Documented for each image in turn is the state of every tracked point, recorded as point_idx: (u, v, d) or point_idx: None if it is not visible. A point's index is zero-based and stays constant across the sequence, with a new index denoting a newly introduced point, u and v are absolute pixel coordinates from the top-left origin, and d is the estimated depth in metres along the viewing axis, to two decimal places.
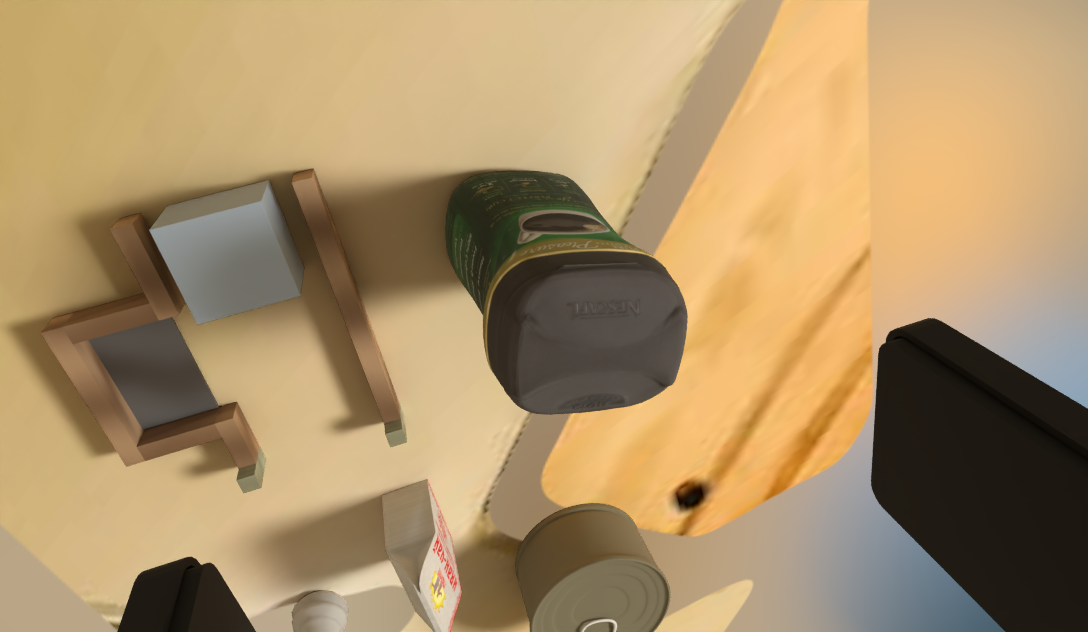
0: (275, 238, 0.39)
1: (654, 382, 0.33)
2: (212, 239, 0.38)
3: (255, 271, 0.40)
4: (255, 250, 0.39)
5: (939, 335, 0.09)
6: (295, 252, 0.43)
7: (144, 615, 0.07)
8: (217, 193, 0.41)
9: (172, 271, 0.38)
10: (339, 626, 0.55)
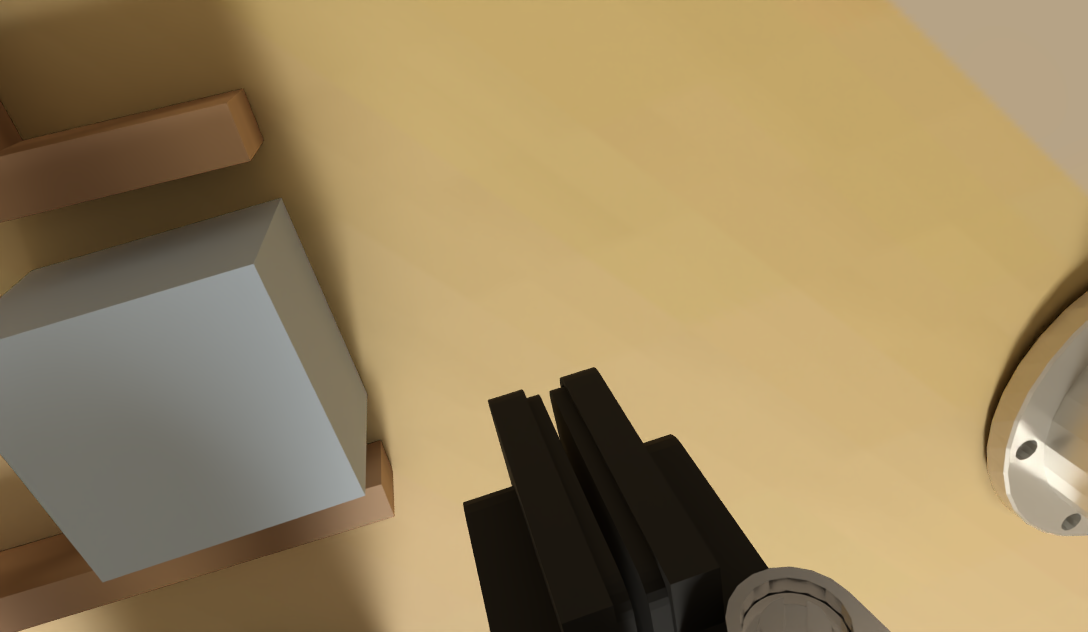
0: (269, 525, 0.16)
1: None
2: (246, 402, 0.14)
3: (159, 492, 0.15)
4: (227, 489, 0.15)
5: (586, 386, 0.09)
6: None
7: (515, 423, 0.09)
8: (327, 305, 0.18)
9: (121, 309, 0.13)
10: None
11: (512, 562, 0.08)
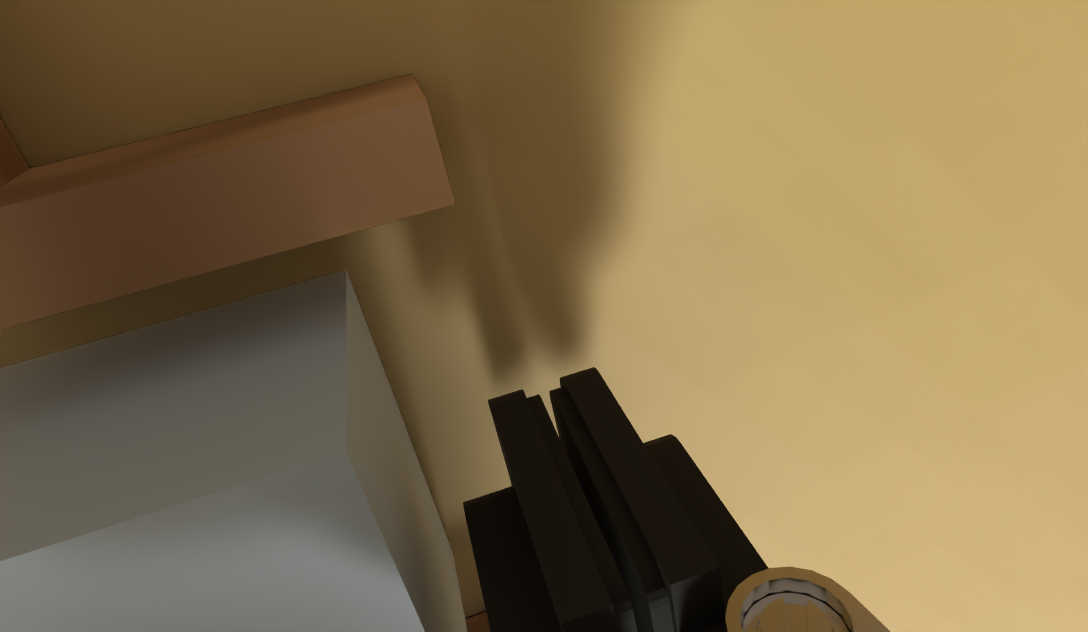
0: None
1: None
2: None
3: None
4: None
5: (586, 385, 0.09)
6: None
7: (515, 423, 0.09)
8: (407, 435, 0.11)
9: (61, 553, 0.06)
10: None
11: (512, 562, 0.08)
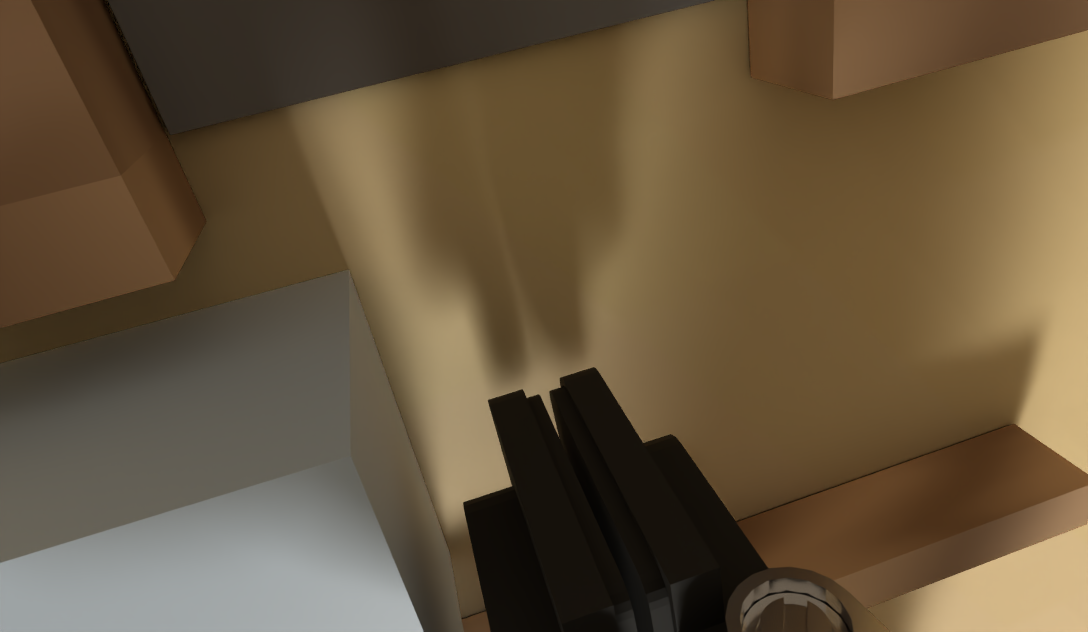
0: None
1: None
2: None
3: None
4: None
5: (586, 385, 0.09)
6: None
7: (515, 422, 0.09)
8: (407, 437, 0.11)
9: (62, 555, 0.06)
10: None
11: (512, 562, 0.08)
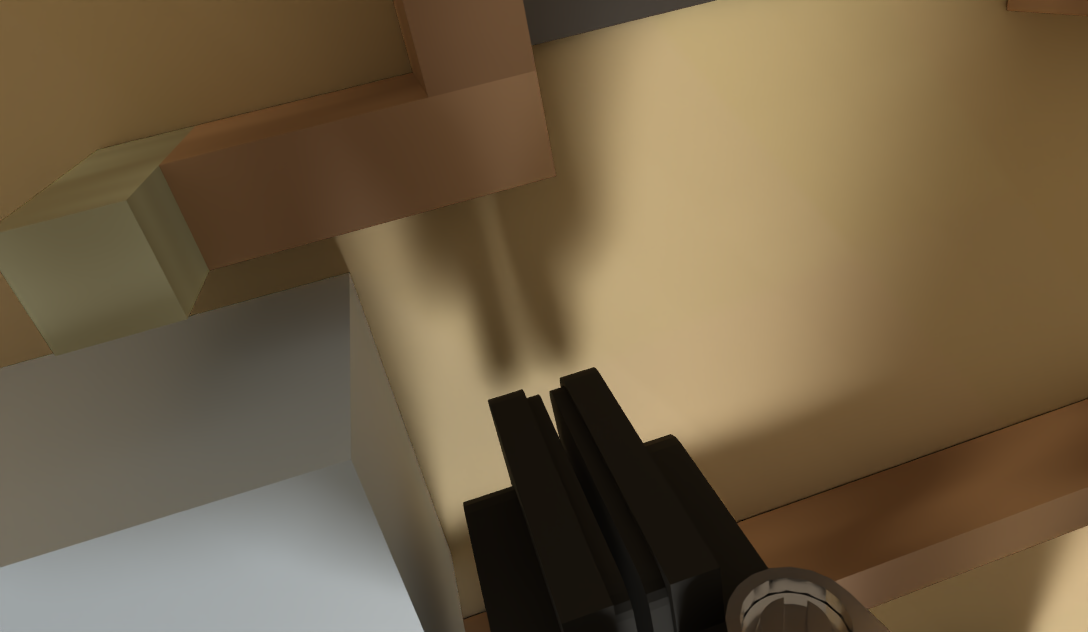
0: None
1: None
2: None
3: None
4: None
5: (587, 385, 0.09)
6: None
7: (515, 423, 0.09)
8: (408, 437, 0.11)
9: (66, 558, 0.06)
10: None
11: (512, 562, 0.08)
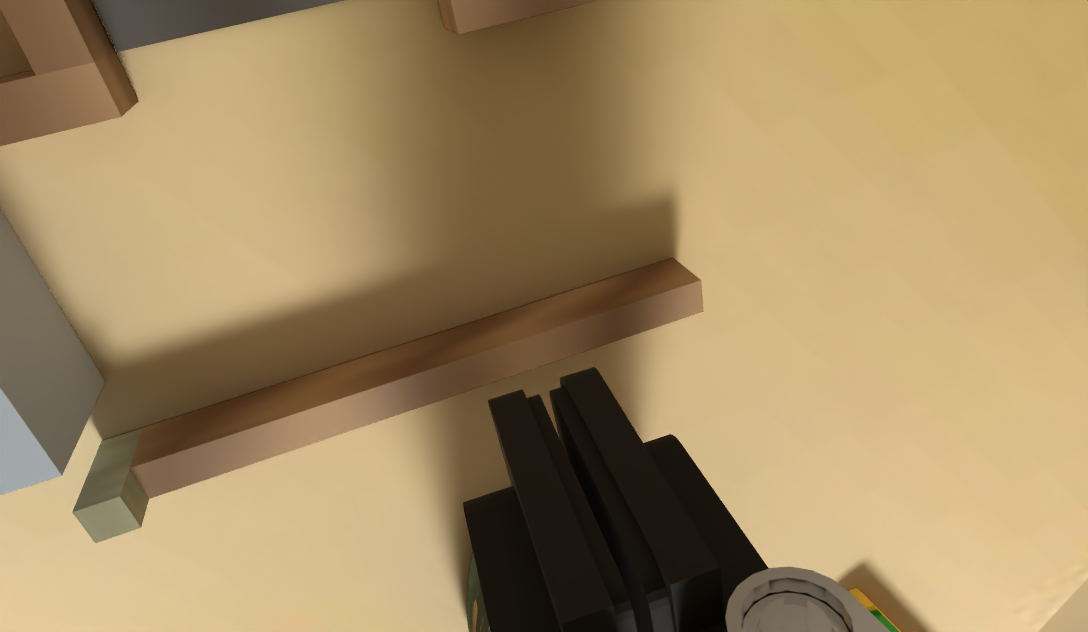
0: None
1: None
2: None
3: None
4: None
5: (586, 386, 0.09)
6: None
7: (515, 422, 0.09)
8: (49, 294, 0.19)
9: None
10: None
11: (512, 562, 0.08)
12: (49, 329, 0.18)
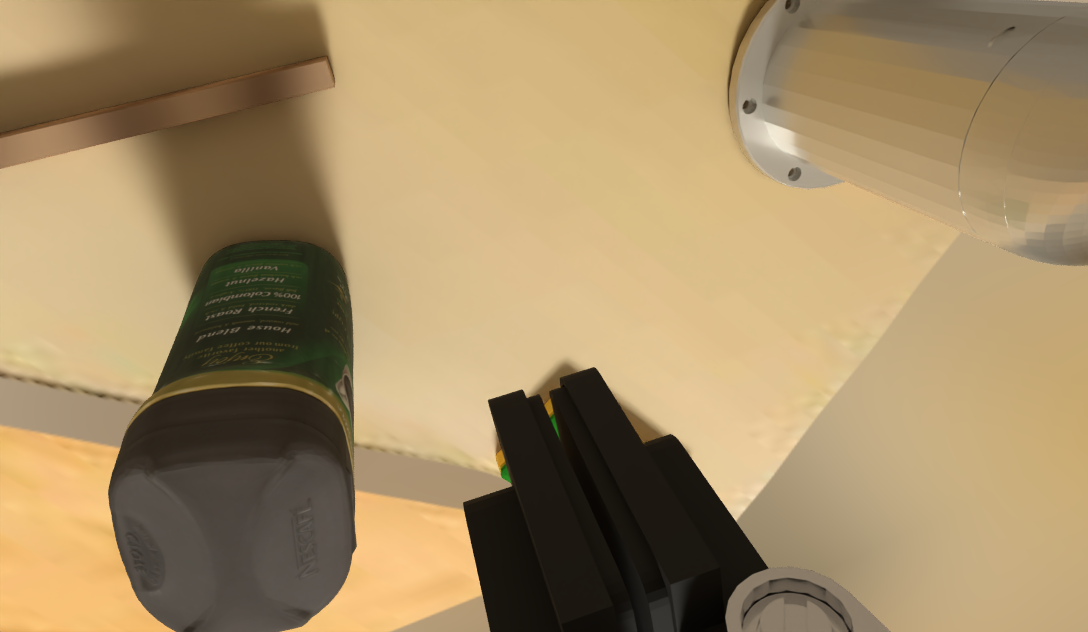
0: None
1: (193, 621, 0.24)
2: None
3: None
4: None
5: (586, 386, 0.09)
6: None
7: (515, 422, 0.09)
8: None
9: None
10: None
11: (512, 562, 0.08)
12: None
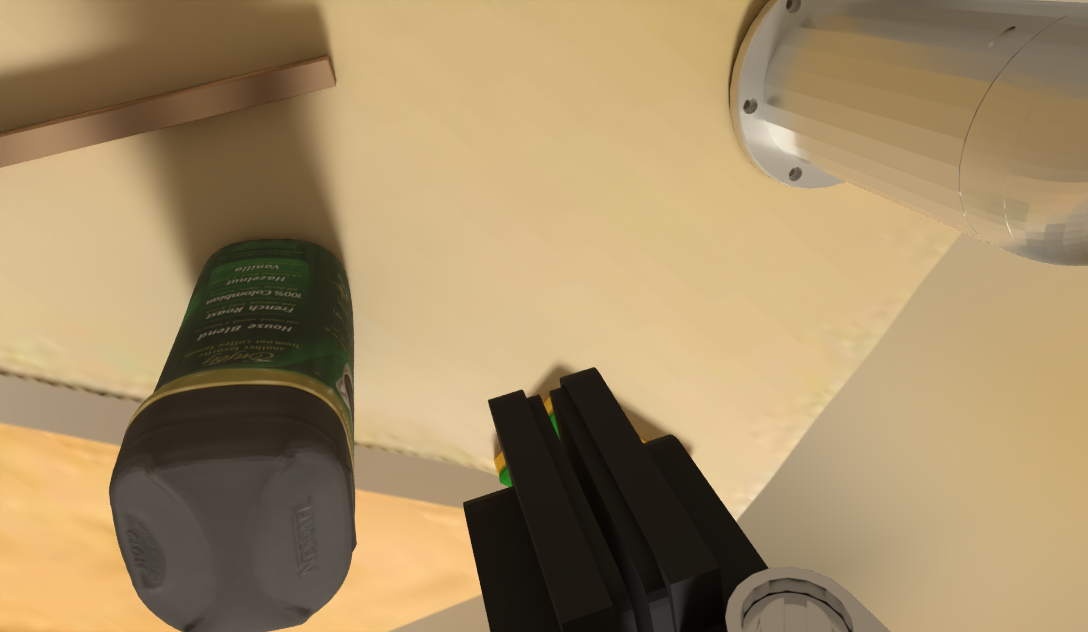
0: None
1: (193, 618, 0.24)
2: None
3: None
4: None
5: (586, 386, 0.09)
6: None
7: (515, 422, 0.09)
8: None
9: None
10: None
11: (512, 562, 0.08)
12: None
